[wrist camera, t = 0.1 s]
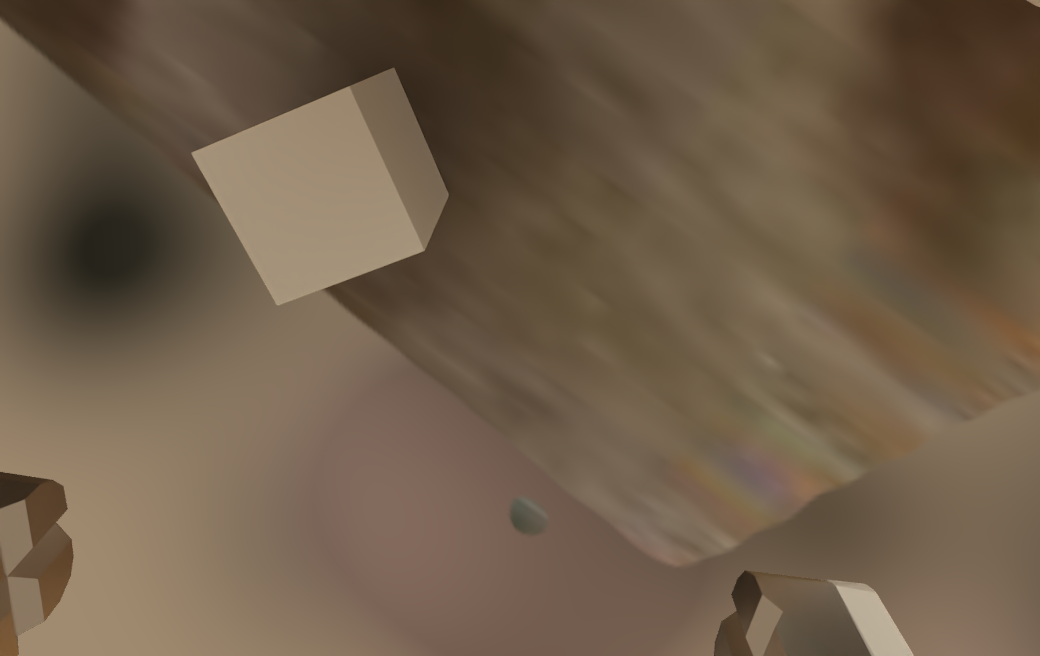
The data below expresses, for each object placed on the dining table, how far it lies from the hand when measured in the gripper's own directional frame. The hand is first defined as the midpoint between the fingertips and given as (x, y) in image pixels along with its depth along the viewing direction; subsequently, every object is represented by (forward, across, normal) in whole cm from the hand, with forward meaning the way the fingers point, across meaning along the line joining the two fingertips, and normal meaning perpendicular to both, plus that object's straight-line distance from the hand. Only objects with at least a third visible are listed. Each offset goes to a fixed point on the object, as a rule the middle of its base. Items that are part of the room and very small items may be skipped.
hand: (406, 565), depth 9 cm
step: (+48, +10, +6) cm, 49 cm away
